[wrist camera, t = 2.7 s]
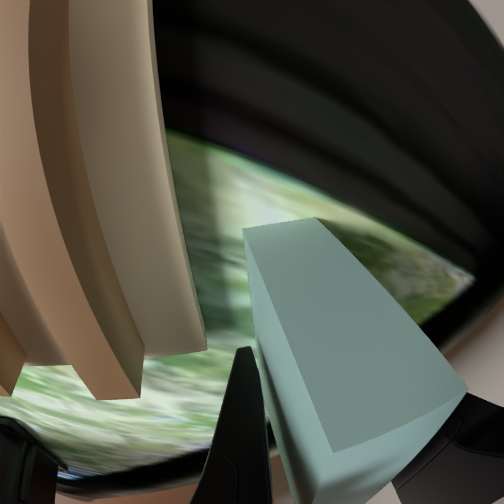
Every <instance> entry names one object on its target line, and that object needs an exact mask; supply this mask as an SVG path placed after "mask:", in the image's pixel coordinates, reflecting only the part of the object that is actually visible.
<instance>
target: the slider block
mask: <svg viewBox="0 0 504 504" xmlns="http://www.w3.org/2000/svg"><path fill="white" fill-rule="evenodd" d="M242 231H243V239H244V248H245V257H246V265H247V273H248V282H249V290H250V299H251V307H252V315H253V324H254V332H255V340H256V348H257V356H258V364H259V372H260V379H261V386H262V393H263V397H264V400H265V404H266V408H267V411H268V415H269V418H270V422H271V425H272V429H273V432H274V436H275V439H276V443H277V446H278V450H279V453H280V457H281V460H282V463H283V467H284V470H285V474H286V477H287V480H288V484H289V487H290V490H291V494H292V497H293V500H294V503H295V504H365V503H366V502H367V501H368V500H370V499H371V498H372V497H373V496H374V495H375V494H377V493H378V492H379V491H380V490H381V489H382V488H383V487H384V486H386V485H387V484H388V483H389V482H390V481H391V480H392V479H393V478H394V477H395V476H396V475H397V474H398V473H399V472H400V471H401V470H402V469H404V467H405V466H406V465H407V464H408V463H409V462H410V461H411V460H412V459H413V458H414V457H415V456H416V455H417V454H418V453H419V452H420V451H421V450H422V448H423V447H424V446H425V445H426V444H427V443H428V442H429V441H430V439H431V438H432V437H433V436H434V435H435V433H436V432H437V431H438V430H439V429H440V427H441V426H442V425H443V424H444V422H445V421H446V420H447V418H448V417H449V416H450V415H451V413H452V412H453V411H454V409H455V408H456V407H457V405H458V404H459V402H460V401H461V400H462V398H463V397H464V395H465V394H466V392H467V390H468V389H469V388H468V387H467V386H466V384H465V383H464V382H463V380H462V379H461V378H460V377H459V375H458V374H457V373H456V371H455V370H454V369H453V368H452V366H451V365H450V364H449V363H448V361H447V360H446V359H445V358H444V356H443V355H442V354H441V353H440V351H439V350H438V349H437V348H436V347H435V345H434V344H433V343H432V342H431V341H430V339H429V338H428V337H427V336H426V335H425V333H424V332H423V331H422V330H421V329H420V328H419V326H418V325H417V324H416V323H415V322H414V321H413V319H412V318H411V317H410V316H409V315H408V314H407V313H406V312H405V310H404V309H403V308H402V307H401V306H400V305H399V304H398V303H397V301H396V300H395V299H394V298H393V297H392V296H391V295H390V294H389V293H388V292H387V290H386V289H385V288H384V287H383V286H382V285H381V284H380V283H379V282H378V281H377V280H376V279H375V277H374V276H373V275H372V274H371V273H370V272H369V271H368V270H367V269H366V268H365V267H364V266H363V265H362V264H361V263H360V262H359V261H358V260H357V259H356V258H355V257H354V256H353V254H352V253H351V252H350V251H349V250H348V249H347V248H346V247H345V246H344V245H343V244H342V243H341V242H340V241H339V240H338V239H337V238H336V237H335V236H334V235H333V234H332V233H331V232H330V231H329V230H328V229H327V228H326V227H325V226H324V225H323V224H322V223H320V222H319V221H318V220H317V219H316V218H315V217H314V218H307V219H301V220H294V221H288V222H281V223H275V224H268V225H262V226H256V227H249V228H243V229H242Z"/></svg>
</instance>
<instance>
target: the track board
mask: <svg viewBox="0 0 504 504" xmlns="http://www.w3.org/2000/svg"><path fill="white" fill-rule="evenodd" d="M206 350H208V349H207V340H206V330H205V325H204V321H203V317H202V313H201V309H200V305H199V301H198V297H197V292H196V288H195V284H194V280H193V275H192V271H191V266H190V262H189V257H188V253H187V248H186V244H185V239H184V234H183V229H182V224H181V219H180V214H179V209H178V204H177V198H176V193H175V187H174V182H173V176H172V170H171V164H170V158H169V152H168V145H167V139H166V132H165V125H164V118H163V111H162V103H161V95H160V87H159V78H158V69H157V59H156V48H155V37H154V24H153V8H152V0H0V396H7V397H11V395H12V393H13V390H14V387H15V385H16V382H17V380H18V377H19V375H20V372H21V370H22V367H23V366H54V365H72V366H73V368H74V369H75V371H76V372H77V374H78V375H79V377H80V378H81V379H82V381H83V382H84V384H85V385H86V386H87V388H88V389H89V390H90V392H91V393H92V394H93V396H94V397H95V398H96V400H117V399H134V398H140V394H141V381H142V370H143V360H144V359H148V358H156V357H164V356H172V355H179V354H186V353H193V352H199V351H206Z"/></svg>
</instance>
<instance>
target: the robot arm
mask: <svg viewBox="0 0 504 504" xmlns="http://www.w3.org/2000/svg"><path fill="white" fill-rule="evenodd" d="M58 472H62V473H68V467H67V466H66V465H65V464H63V463H62V462H61V461H59V460H58V459H57V458H56V457H54V456H53V455H52V454H50V453H49V452H48V451H47V450H46V449H44V448H43V447H42V446H41V445H40V444H38V443H37V442H36V441H35V440H34V439H33V438H32V437H31V436H29V435H28V434H27V433H26V432H25V431H24V430H23V429H22V428H21V427H20V426H19V425H18V424H16V423H15V422H13V421H12V420H9V419H5V418H0V504H55V493H56V483H57V475H58ZM391 482H392V484H393V486H394V488H395V490H396V493H397V495H398V497H399V499H400V501H401V503H402V504H504V407H501V406H498V405H496V404H493V403H491V402H488V401H486V400H484V399H482V398H479V397H477V396H475V395H472V394H470V393H468V392H466V394H465V395H464V397H463V398H462V400H461V401H460V402H459V404H458V405H457V407H456V408H455V409H454V411H453V412H452V413H451V415H450V416H449V417H448V418H447V420H446V421H445V422H444V424H443V425H442V426H441V427H440V429H439V430H438V431H437V432H436V433H435V435H434V436H433V437H432V438H431V439H430V441H429V442H428V443H427V444H426V445H425V446H424V447H423V448H422V450H421V451H420V452H419V453H418V454H417V455H416V456H415V457H414V458H413V459H412V460H411V461H410V462H409V463H408V464H407V465H406V466H405V467H404V469H402V470H401V471H400V472H399V473H398V474H397V475H396V476H395V477H394V478H393V479H392V480H391ZM189 504H275V502H274V493H273V485H272V474H271V465H270V455H269V446H268V436H267V427H266V418H265V410H264V402H263V394H262V386H261V379H260V375H259V371H258V368H257V365H256V361H255V358H254V355H253V351H252V348H251V347H250V346H246V347H241V348H238V349H237V350H236V354H235V357H234V361H233V365H232V369H231V373H230V376H229V380H228V384H227V388H226V391H225V395H224V399H223V403H222V406H221V410H220V414H219V417H218V421H217V425H216V429H215V432H214V436H213V440H212V445H211V446H210V450H209V454H208V457H207V460H206V463H205V467H204V470H203V473H202V475H201V478H200V480H199V483H198V485H197V487H196V490H195V492H194V494H193V496H192V498H191V501H190V503H189Z"/></svg>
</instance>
